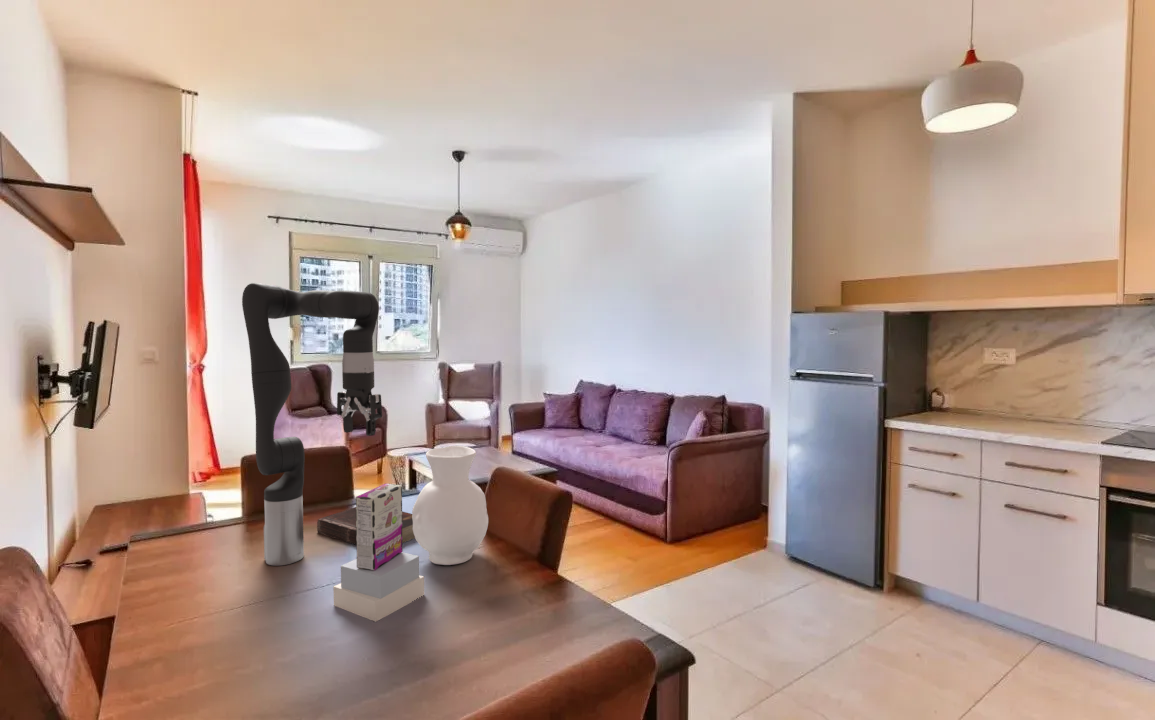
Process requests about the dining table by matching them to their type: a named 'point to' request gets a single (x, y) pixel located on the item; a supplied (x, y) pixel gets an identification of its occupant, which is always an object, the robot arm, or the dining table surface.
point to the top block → (380, 576)
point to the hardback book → (345, 526)
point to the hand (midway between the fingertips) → (359, 433)
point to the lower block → (378, 600)
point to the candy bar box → (378, 526)
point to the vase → (450, 508)
